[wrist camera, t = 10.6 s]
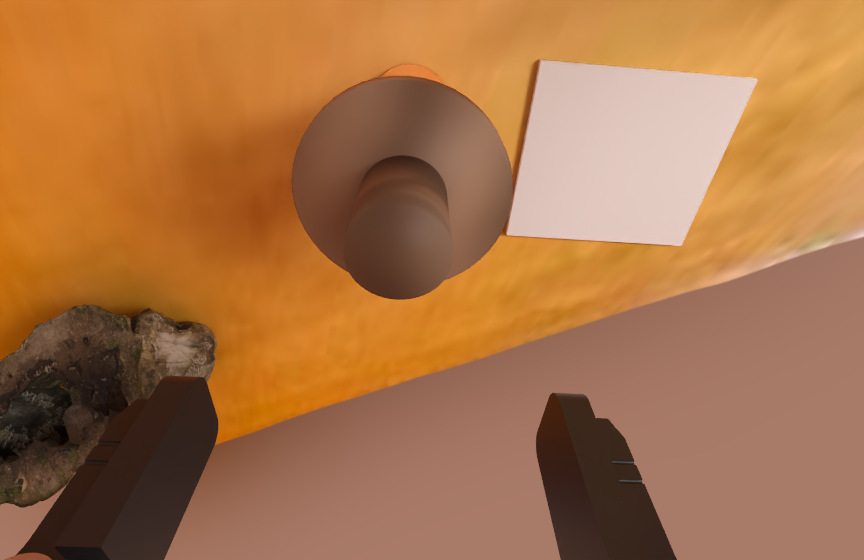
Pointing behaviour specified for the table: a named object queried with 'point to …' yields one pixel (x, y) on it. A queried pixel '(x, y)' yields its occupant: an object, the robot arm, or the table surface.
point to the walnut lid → (402, 184)
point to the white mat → (621, 151)
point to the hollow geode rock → (83, 389)
